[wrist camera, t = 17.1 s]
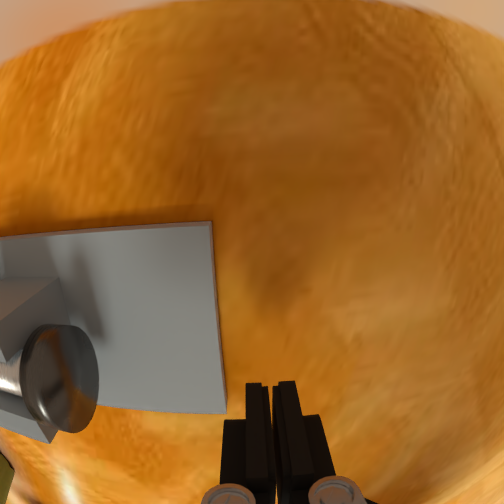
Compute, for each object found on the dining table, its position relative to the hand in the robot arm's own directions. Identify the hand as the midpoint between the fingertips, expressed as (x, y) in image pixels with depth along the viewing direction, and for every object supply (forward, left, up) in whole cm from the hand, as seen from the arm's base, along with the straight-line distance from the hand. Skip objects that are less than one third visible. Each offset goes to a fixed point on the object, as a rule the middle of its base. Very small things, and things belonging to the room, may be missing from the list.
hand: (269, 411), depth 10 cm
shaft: (+14, -1, -3) cm, 15 cm away
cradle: (+13, -1, -5) cm, 13 cm away
